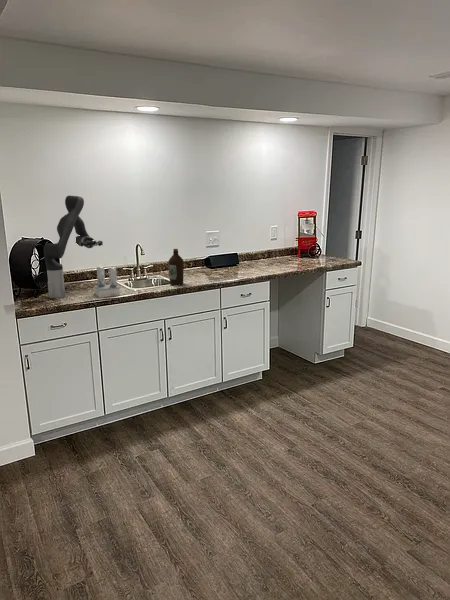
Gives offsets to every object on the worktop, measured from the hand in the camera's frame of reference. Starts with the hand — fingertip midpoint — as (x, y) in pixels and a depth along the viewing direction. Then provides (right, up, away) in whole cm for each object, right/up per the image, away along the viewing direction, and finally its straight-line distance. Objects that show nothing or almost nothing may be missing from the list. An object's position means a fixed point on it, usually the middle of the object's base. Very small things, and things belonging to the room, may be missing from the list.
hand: (93, 244), depth 297 cm
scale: (+10, -32, -6) cm, 35 cm away
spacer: (+7, -27, -6) cm, 29 cm away
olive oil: (+52, -25, +23) cm, 62 cm away
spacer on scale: (+15, -28, -8) cm, 33 cm away
